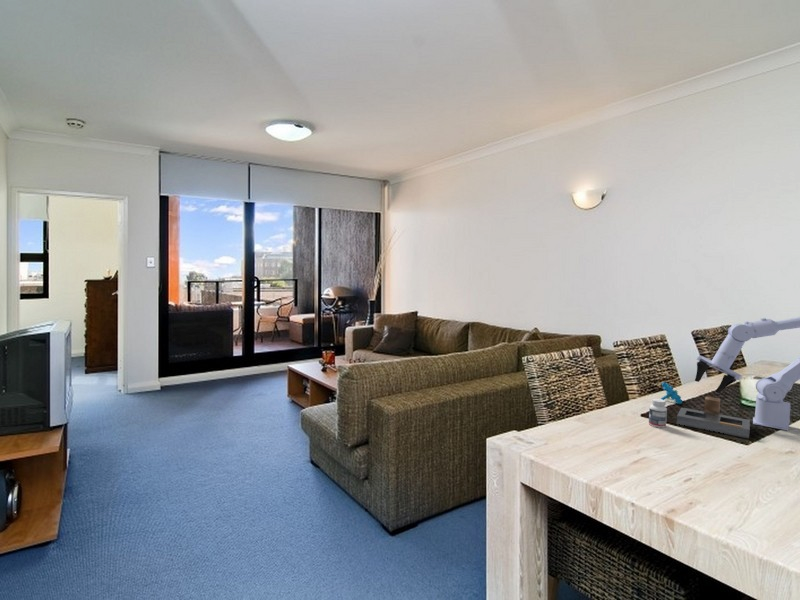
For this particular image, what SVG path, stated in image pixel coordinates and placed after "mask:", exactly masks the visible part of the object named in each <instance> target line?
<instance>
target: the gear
mask: <svg viewBox="0 0 800 600" xmlns="http://www.w3.org/2000/svg"><path fill="white" fill-rule="evenodd" d="M661 386H662V388H663V391H665V392H666V395H664V396H662V397H661V398H660V399H662V400H666V399H667V398H668V399H671V400H672V401H674V402H675V403H676V404H679V405H681V404H683V400H682V398H681V397H682V396H680V395H679V394H678V390H677V389H675V390H674V387H673V386H672V385H670V384H669V383H668V382H665V381H664V382H662V384H661Z"/></svg>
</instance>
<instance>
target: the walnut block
mask: <svg viewBox="0 0 800 600" xmlns="http://www.w3.org/2000/svg"><path fill="white" fill-rule="evenodd" d="M720 410H721V398H717V397H712V396H705V398H704V409H703V412H709V413H714V414H720Z"/></svg>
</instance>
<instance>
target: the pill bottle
mask: <svg viewBox="0 0 800 600" xmlns="http://www.w3.org/2000/svg"><path fill="white" fill-rule="evenodd" d="M666 403H667V402H666V399H664V400H662V399H661V398H652V399H651V404H650V405H649V413H648V424H649V425H650V426H651V427H655V428H659V427H660V429H661V428H663V427H664V428H666V427H667V415H668V408H667V407H666ZM664 428H663V429H664Z"/></svg>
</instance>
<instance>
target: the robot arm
mask: <svg viewBox="0 0 800 600" xmlns="http://www.w3.org/2000/svg"><path fill="white" fill-rule="evenodd" d="M792 329H800V316H797V317H792V318H787V319H782V320H777V321H775V320H773V319H771V318H766V317H763V318H760V320H755V321H744V323H743V324H742V323H734V324H732V325H731V326H730V327H728V328H727V335H726V337H725V339H723V341H722V342H721V344H720V346H719V348H718V350H717V351H716V353H715V355H714V356H713V358H712V359H709V358H707V357H705V356H703V355H698V356H697V358H696V361H697V362H696V375H695V379H694V382H697V383H699V382H700V381H701V380H702V378H703V376H704V375H705V372H706V371H708V369H709V368H710V367H712V368H713V369H715V370H717V371H719V372H722V373H723V377H722V379H721V381H720V384H719V385H718V387H717V388H716V390H715V393H717V394H721V392H723V390H725V388H727V387H728V386H729V385H731V384H733V383H735V382H737V381H740V380H741V379H742V377H743V375H742V374H739V373H738V372H736V371H734V370H733V369H730V368H731V367H732V365H733V363H734V362H735V360H736V358H737V356H738V355H739V353H740V352H741V350H742V348H743V346H744V345H745V343H746V342H748V341H750V340H751V339H757V338H763V337H770V336H775V335H777V333H778V332H779V331H784V330H792ZM798 381H800V356H799V357H798V358H797V359H795V360H794V361H792V362H791V363H790V364H789V365H787V366H786V367H784V368H783V369H781V370H779V372H775V373H773V374H770V375H769V376H767V377H763V378H760V379H758V380H757V381H756V383H755V389H756V392H758V394H756V399H755V410H754V411H755V412H754V416H753V417H752V425H757V426H762V427H769V428H773V429H778V430H785V431H789V429H790V428H789V426H790V424H791V418H790V417H791V416H790V414H791V402H788V401H787V402H786V401H784V399H785V397H786V396H787V394H788V393H789V392H790V391H791V390H792V388H793V385H794V384H795V383H796V382H798Z"/></svg>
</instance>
